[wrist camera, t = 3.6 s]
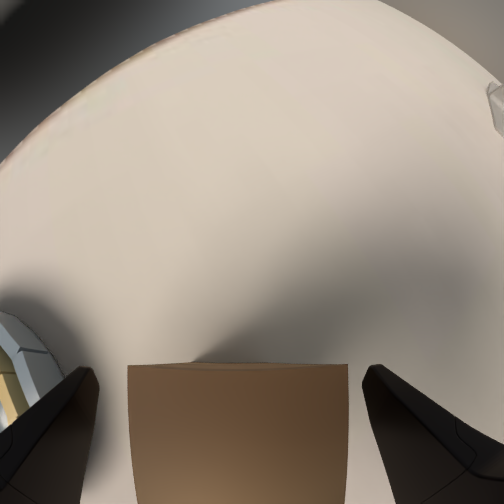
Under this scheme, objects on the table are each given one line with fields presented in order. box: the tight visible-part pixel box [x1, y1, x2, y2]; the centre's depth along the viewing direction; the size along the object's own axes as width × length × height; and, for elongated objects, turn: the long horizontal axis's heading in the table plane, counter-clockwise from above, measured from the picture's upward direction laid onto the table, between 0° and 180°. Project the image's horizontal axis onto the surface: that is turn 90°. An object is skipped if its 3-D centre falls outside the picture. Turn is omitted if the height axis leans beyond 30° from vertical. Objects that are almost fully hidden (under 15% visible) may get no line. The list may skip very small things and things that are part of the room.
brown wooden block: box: [128, 362, 349, 504], centre depth 9 cm, size 4×4×11 cm
